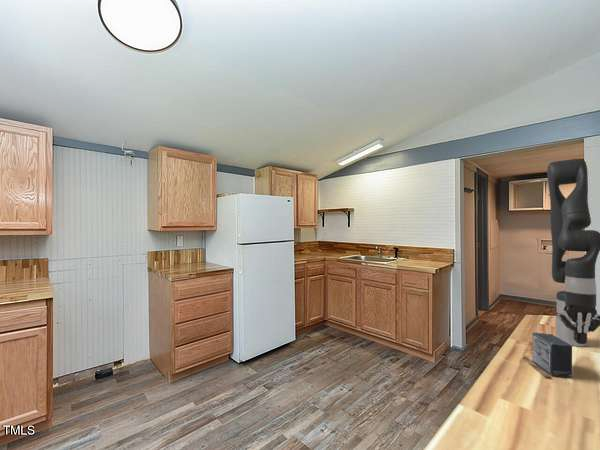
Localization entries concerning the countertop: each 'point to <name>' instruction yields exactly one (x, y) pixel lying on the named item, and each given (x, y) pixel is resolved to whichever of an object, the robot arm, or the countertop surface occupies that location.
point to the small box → (552, 355)
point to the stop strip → (537, 368)
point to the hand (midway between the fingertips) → (580, 343)
